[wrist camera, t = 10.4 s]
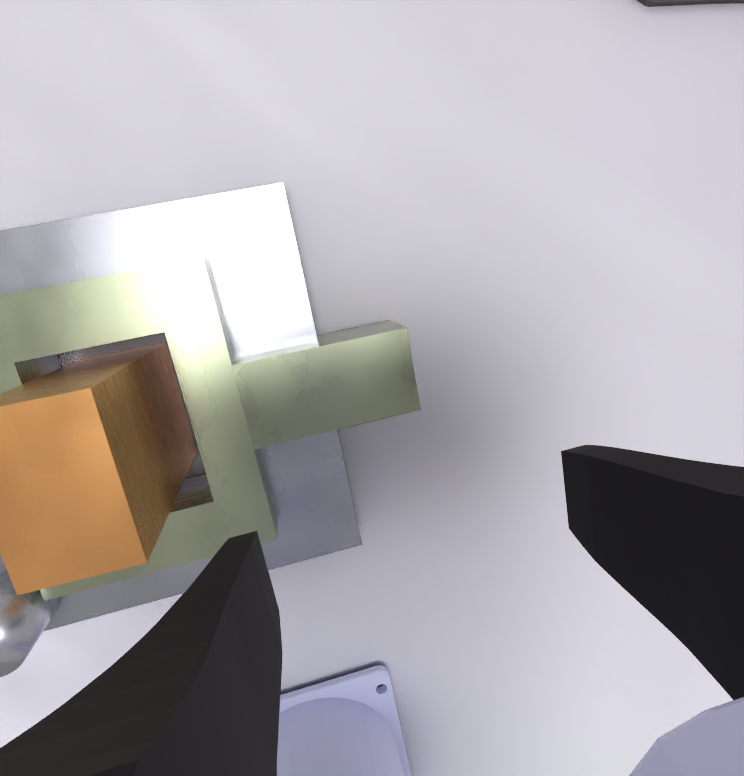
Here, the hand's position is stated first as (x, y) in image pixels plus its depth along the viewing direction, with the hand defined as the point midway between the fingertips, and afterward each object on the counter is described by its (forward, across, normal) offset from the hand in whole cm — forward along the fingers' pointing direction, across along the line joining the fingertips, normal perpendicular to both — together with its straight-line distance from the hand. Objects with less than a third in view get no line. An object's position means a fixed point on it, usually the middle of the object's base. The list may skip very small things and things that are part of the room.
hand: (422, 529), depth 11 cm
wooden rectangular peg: (+10, +8, -2) cm, 13 cm away
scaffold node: (+10, +6, -2) cm, 12 cm away
